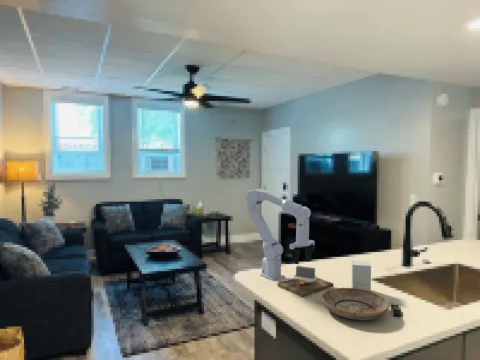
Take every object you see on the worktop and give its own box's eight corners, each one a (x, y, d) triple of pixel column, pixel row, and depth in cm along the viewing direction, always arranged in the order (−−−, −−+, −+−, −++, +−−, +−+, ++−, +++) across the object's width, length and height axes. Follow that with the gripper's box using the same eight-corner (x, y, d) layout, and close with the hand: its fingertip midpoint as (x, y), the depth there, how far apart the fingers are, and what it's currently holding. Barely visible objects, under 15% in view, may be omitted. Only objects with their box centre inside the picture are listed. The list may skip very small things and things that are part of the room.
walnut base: (277, 286, 147) (277, 275, 147) (308, 277, 159) (308, 267, 159) (302, 297, 135) (302, 285, 135) (333, 286, 147) (333, 276, 147)
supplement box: (368, 289, 144) (369, 260, 143) (370, 295, 137) (371, 265, 136) (351, 287, 146) (351, 259, 145) (352, 293, 139) (352, 264, 138)
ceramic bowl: (336, 294, 139) (336, 282, 138) (396, 310, 124) (396, 297, 123) (310, 313, 121) (311, 300, 120) (377, 334, 106) (377, 319, 106)
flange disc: (297, 273, 154) (297, 263, 153) (319, 276, 149) (319, 266, 149) (290, 282, 143) (290, 270, 142) (313, 285, 138) (313, 274, 138)
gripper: (297, 236, 144) (297, 267, 145) (319, 232, 152) (319, 261, 153) (286, 233, 150) (286, 263, 150) (308, 230, 158) (308, 258, 159)
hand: (302, 262), depth 152 cm, fingers open, 7 cm apart
